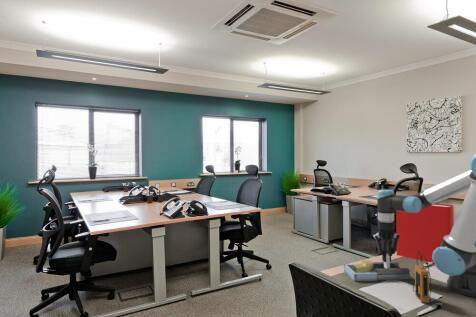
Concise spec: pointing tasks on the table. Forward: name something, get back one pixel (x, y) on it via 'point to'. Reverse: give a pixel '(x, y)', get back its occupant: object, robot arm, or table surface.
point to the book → (423, 230)
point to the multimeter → (422, 283)
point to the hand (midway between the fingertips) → (386, 268)
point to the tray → (359, 274)
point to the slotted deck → (391, 276)
